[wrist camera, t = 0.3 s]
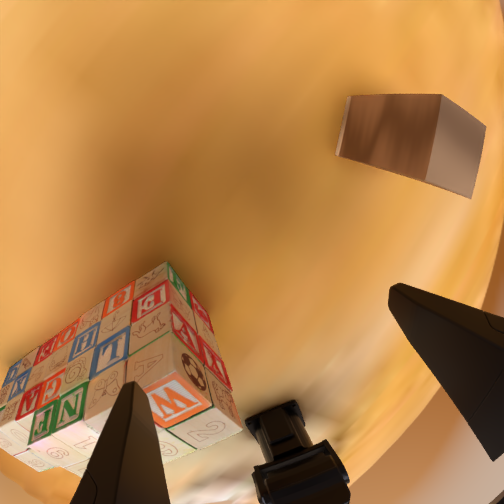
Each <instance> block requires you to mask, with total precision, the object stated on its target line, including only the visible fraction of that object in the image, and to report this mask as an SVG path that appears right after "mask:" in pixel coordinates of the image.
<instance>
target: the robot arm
mask: <svg viewBox="0 0 504 504" xmlns="http://www.w3.org/2000/svg"><path fill="white" fill-rule="evenodd" d="M388 307H389V310H390V311H391V313H392V315H393V316H394V318H395V319H396V321H397V323H398V324H399V326H400V328H401V329H402V331H403V333H404V334H405V336H406V337H407V339H408V341H409V342H410V343H411V345H412V346H413V348H414V349H415V350H416V351H417V353H418V354H419V355H420V357H421V358H422V359H423V361H424V362H425V363H426V365H427V366H428V368H429V369H430V370H431V372H432V373H433V374H434V376H435V377H436V378H437V380H438V381H439V383H440V384H441V385H442V387H443V388H444V389H445V391H446V392H447V394H448V395H449V397H450V398H451V399H452V401H453V402H454V404H455V405H456V407H457V408H458V409H459V411H460V413H461V414H462V415H463V417H464V418H465V420H466V421H467V422H468V425H469V426H470V427H471V429H472V431H473V432H474V434H475V435H476V437H477V438H478V440H479V441H480V443H481V444H482V446H483V448H484V449H485V451H486V452H487V454H488V455H489V457H490V459H491V460H492V461H495V460H496V459H497V458H498V457H500V456H501V455H502V454H503V453H504V318H503V317H500V316H497V315H494V314H491V313H488V312H485V311H482V310H480V309H477V308H474V307H471V306H468V305H465V304H462V303H459V302H456V301H453V300H451V299H448V298H445V297H442V296H439V295H436V294H433V293H430V292H427V291H424V290H421V289H418V288H415V287H412V286H409V285H406V284H403V283H397V284H395V285H393V286H391V287H390V289H389V299H388ZM245 424H246V426H247V427H248V429H249V430H250V432H251V433H252V435H253V436H254V438H255V439H256V441H257V442H258V443H259V445H260V447H261V450H262V453H263V455H264V458H265V461H266V463H265V464H262V465H259V466H258V465H257V466H254V470H255V471H254V472H253V473H252V477H253V480H254V483H255V487H256V492H257V497H258V501H259V503H260V504H349V501H350V491H349V488H348V486H347V484H348V483H349V482H350V480H349V477H348V474H347V471H346V469H345V467H344V465H343V463H342V462H341V460H340V459H339V457H338V456H337V454H336V453H335V451H334V450H333V448H332V447H331V445H330V444H329V442H328V441H327V439H325V440H323V441H322V442H320V443H318V444H316V445H313V443H312V441H311V439H310V437H309V435H308V434H307V432H306V430H305V428H304V427H305V422H304V420H303V417H302V414H301V411H300V409H299V406H298V403H297V401H295V400H294V401H291V402H288V403H286V404H284V405H281V406H279V407H277V408H274V409H272V410H269V411H267V412H264V413H262V414H259V415H257V416H254V417H251V418H249V419H247V420H245ZM86 468H87V469H85V471H84V474H83V476H82V479H81V481H80V483H79V485H78V488H77V490H76V492H75V494H74V496H73V498H72V500H71V502H70V504H170V499H169V495H168V490H167V484H166V479H165V474H164V468H163V462H162V456H161V450H160V444H159V439H158V434H157V431H156V427H155V423H154V419H153V415H152V411H151V407H150V403H149V399H148V396H147V395H146V393H145V392H144V391H143V389H142V388H141V387H140V386H139V384H138V383H137V382H136V381H131V382H127V383H124V384H123V386H122V388H121V390H120V392H119V394H118V396H117V398H116V401H115V403H114V405H113V407H112V409H111V411H110V414H109V416H108V418H107V420H106V423H105V425H104V427H103V429H102V432H101V434H100V436H99V438H98V441H97V443H96V445H95V448H94V450H93V452H92V455H91V457H90V459H89V462H88V464H87V467H86ZM489 504H504V490H503V492H501V493H500V494H499V495H498V496H497V497H496V498H495V499H494V500H493V501H492V502H490V503H489Z"/></svg>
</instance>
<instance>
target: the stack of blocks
mask: <svg viewBox="0 0 504 504" xmlns="http://www.w3.org/2000/svg"><path fill="white" fill-rule="evenodd" d="M131 381H136V382H137V383H138V384H139V386H140V387H141V388H142V389H143V391H144V392H145V393H146V395H147V396H148V399H149V403H150V407H151V411H152V415H153V419H154V423H155V427H156V431H157V434H158V439H159V444H160V450H161V456H162V462H163V464H165V463H167V462H170V461H172V460H175V459H178V458H180V457H183V456H185V455H188V454H190V453H192V452H195V451H196V450H197V449H203V448H206V447H209V446H211V445H213V444H215V443H217V442H220V441H222V440H224V439H226V438H228V437H231V436H233V435H235V434H237V433H239V432H241V431H242V430H243V427H242V424H241V421H240V418H239V415H238V412H237V409H236V406H235V403H234V400H233V398H232V395H231V392H232V387H231V383H230V381H229V377H228V375H227V371H226V368H225V365H224V362H223V361H222V358H221V355H220V352H219V349H218V346H217V343H216V340H215V337H214V332H213V329H212V325H211V321H210V318H209V315H208V313H207V312H206V311H205V310H204V308H203V307H202V306H201V304H200V303H199V302H198V301H197V299H196V298H195V297H194V295H193V294H192V293H191V292H190V291H189V290H188V289H187V287H186V286H185V285H184V283H183V282H182V281H181V279H180V278H179V277H178V275H177V274H176V273H175V271H174V270H173V269H172V267H171V266H170V264H169V263H168V262H167V261H166V262H164V263H162V264H161V265H159V266H158V267H156V268H155V269H153V270H151V271H150V272H148V273H147V274H145V275H144V276H142V277H140V278H139V279H137V280H135V281H132V282H131V283H129V284H128V285H126V286H125V287H123V288H122V289H120V290H119V291H117V292H116V293H114V294H113V295H111V296H110V297H108V298H107V299H106V300H104V301H102V302H101V303H99V304H97V305H96V306H94V307H93V308H92V309H90V310H89V311H87V312H86V313H84V314H83V315H82V316H81V318H80V319H78V320H76V321H75V322H74V323H73V324H71V325H69V326H68V327H66V328H65V329H64V330H62V331H61V332H60V333H59V334H58V335H56V336H55V337H53V338H52V339H50V340H49V341H48V342H46V343H45V344H43V345H42V346H41V347H40V346H39V347H37V348H36V349H35V350H33V351H32V352H30V353H29V354H28V355H26V356H25V357H24V358H23V359H21V360H20V361H18V362H17V363H16V364H14V365H13V366H12V367H11V368H10V369H9V371H8V373H7V376H6V378H5V380H4V383H3V385H2V389H1V390H0V447H1V448H2V449H3V450H5V451H6V452H7V453H9V454H10V455H12V456H14V457H16V458H17V459H19V460H20V461H22V462H23V463H25V464H26V465H28V466H30V467H31V468H33V469H35V470H36V471H38V472H41V471H44V470H47V469H51V468H54V467H59V466H60V467H62V468H65V469H66V470H68V471H70V472H72V473H74V474H76V475H78V476H79V477H81V478H82V476H83V474H84V471H85V469H87V468H86V467H87V464H88V462H89V459H90V457H91V455H92V452H93V450H94V448H95V445H96V443H97V441H98V438H99V436H100V434H101V432H102V429H103V427H104V425H105V423H106V420H107V418H108V416H109V414H110V411H111V409H112V407H113V405H114V403H115V401H116V398H117V396H118V394H119V392H120V390H121V388H122V386H123V384H124V383H127V382H131Z"/></svg>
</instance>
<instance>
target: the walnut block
mask: <svg viewBox="0 0 504 504" xmlns="http://www.w3.org/2000/svg"><path fill="white" fill-rule="evenodd" d="M485 131H486V126H485V125H484V124H483V123H481V122H480V121H479V120H477V119H476V118H475V117H473V116H472V115H471V114H469V113H468V112H467V111H465V110H464V109H463V108H461V107H460V106H458V105H457V104H455V103H454V102H453V101H451V100H450V99H448V98H447V97H445V96H444V95H442V94H380V95H360V96H347V101H346V106H345V110H344V115H343V120H342V125H341V129H340V134H339V139H338V143H337V148H336V152H335V155H336V156H339V157H343V158H346V159H350V160H353V161H357V162H360V163H363V164H367V165H370V166H373V167H376V168H380V169H383V170H386V171H390V172H393V173H396V174H400V175H403V176H406V177H409V178H412V179H415V180H419V181H422V182H425V183H428V184H431V185H433V186H436V187H439V188H442V189H445V190H448V191H450V192H453V193H456V194H459V195H461V196H464V197H467V198H469V199H471V198H472V194H473V190H474V186H475V182H476V177H477V173H478V169H479V164H480V159H481V154H482V149H483V143H484V137H485Z"/></svg>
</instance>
